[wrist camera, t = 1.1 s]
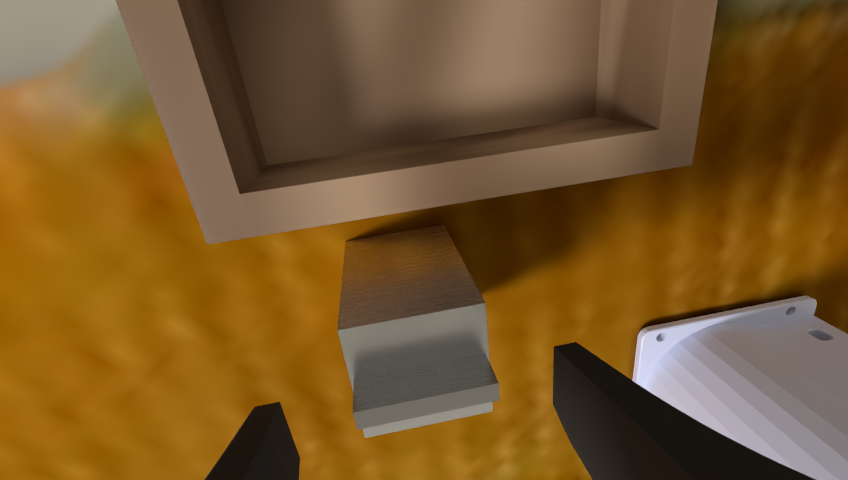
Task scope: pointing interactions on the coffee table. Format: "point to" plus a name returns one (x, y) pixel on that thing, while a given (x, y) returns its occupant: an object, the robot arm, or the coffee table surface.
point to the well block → (413, 100)
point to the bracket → (413, 332)
